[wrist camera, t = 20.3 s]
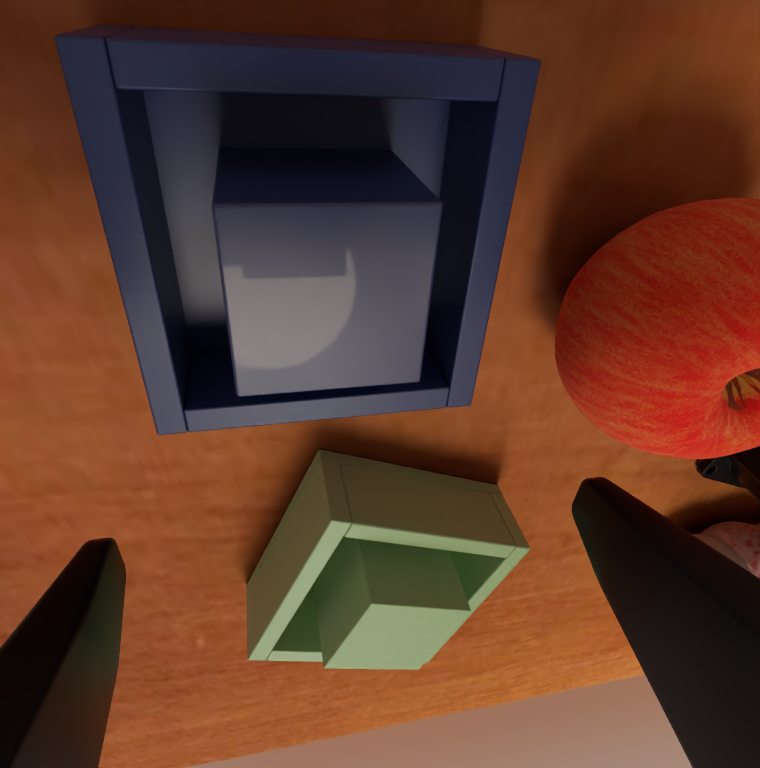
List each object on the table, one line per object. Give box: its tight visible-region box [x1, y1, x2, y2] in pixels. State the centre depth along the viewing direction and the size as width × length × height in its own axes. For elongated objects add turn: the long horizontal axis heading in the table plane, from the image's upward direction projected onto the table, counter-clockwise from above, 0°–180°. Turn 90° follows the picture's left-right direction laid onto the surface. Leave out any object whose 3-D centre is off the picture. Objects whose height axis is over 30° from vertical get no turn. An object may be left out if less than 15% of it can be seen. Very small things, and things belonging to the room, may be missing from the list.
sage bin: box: [247, 449, 530, 663], centre depth 23 cm, size 9×9×4 cm
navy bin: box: [55, 25, 541, 435], centre depth 14 cm, size 9×9×4 cm
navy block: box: [212, 148, 443, 397], centre depth 13 cm, size 4×4×4 cm
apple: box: [555, 198, 760, 459], centre depth 16 cm, size 8×8×8 cm
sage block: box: [313, 536, 471, 670], centre depth 22 cm, size 4×4×4 cm
